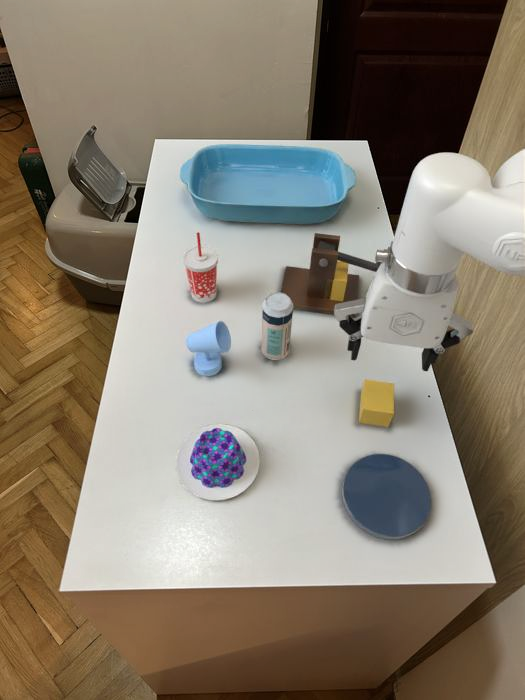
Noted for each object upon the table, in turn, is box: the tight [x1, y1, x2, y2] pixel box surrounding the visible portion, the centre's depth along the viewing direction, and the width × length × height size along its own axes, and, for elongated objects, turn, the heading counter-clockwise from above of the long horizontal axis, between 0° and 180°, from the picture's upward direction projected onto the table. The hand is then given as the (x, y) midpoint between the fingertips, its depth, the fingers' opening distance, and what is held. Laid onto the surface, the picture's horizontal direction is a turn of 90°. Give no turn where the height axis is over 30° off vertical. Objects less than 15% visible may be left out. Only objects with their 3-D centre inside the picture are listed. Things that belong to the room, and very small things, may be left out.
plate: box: [341, 453, 432, 541], centre depth 73 cm, size 12×12×1 cm
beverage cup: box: [182, 232, 219, 303], centre depth 93 cm, size 6×6×14 cm
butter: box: [324, 260, 350, 301], centre depth 95 cm, size 4×5×5 cm
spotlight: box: [185, 320, 232, 377], centre depth 84 cm, size 5×10×7 cm
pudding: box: [175, 423, 261, 501], centre depth 75 cm, size 12×12×5 cm
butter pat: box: [358, 378, 395, 428], centre depth 81 cm, size 4×6×4 cm
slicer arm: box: [317, 241, 381, 273], centre depth 91 cm, size 12×6×2 cm, turn 80°
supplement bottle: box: [260, 291, 294, 361], centre depth 85 cm, size 5×5×12 cm
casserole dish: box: [179, 143, 357, 225], centre depth 113 cm, size 37×22×7 cm, turn 89°
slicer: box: [280, 232, 360, 319], centre depth 94 cm, size 14×10×12 cm
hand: (389, 357), depth 73 cm, fingers open, 9 cm apart
